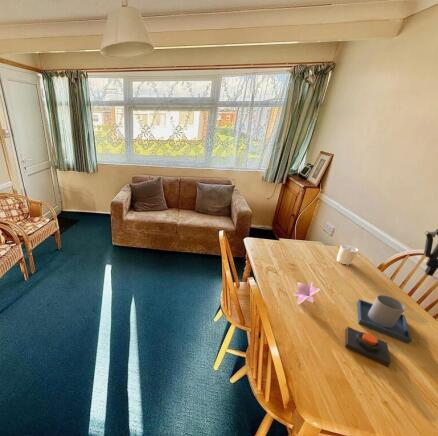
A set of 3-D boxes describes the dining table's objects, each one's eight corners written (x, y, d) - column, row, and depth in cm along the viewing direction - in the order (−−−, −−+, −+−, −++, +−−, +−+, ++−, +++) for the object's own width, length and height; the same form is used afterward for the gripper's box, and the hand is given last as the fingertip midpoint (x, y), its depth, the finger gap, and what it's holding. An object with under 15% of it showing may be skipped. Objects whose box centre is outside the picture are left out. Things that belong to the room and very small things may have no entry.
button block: (384, 346, 88) (389, 339, 87) (387, 367, 81) (393, 359, 79) (345, 330, 95) (348, 323, 93) (345, 347, 88) (349, 340, 86)
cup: (364, 316, 100) (373, 299, 96) (372, 309, 104) (381, 292, 100) (389, 331, 94) (400, 313, 89) (397, 322, 97) (408, 305, 93)
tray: (402, 319, 100) (404, 315, 99) (408, 344, 89) (411, 339, 88) (357, 302, 109) (358, 299, 108) (358, 323, 98) (360, 319, 97)
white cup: (343, 258, 142) (349, 244, 138) (355, 265, 135) (361, 251, 131) (331, 258, 142) (337, 244, 137) (342, 266, 134) (348, 252, 130)
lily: (296, 289, 118) (291, 277, 115) (324, 292, 110) (320, 278, 106) (294, 309, 111) (289, 296, 107) (324, 313, 103) (319, 300, 99)
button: (375, 340, 87) (377, 336, 86) (376, 347, 84) (378, 344, 83) (361, 334, 89) (363, 331, 88) (362, 341, 86) (363, 338, 86)
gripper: (488, 221, 79) (450, 275, 89) (432, 212, 87) (403, 263, 97) (498, 229, 74) (457, 285, 84) (438, 218, 81) (406, 271, 91)
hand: (428, 273), depth 90 cm, fingers closed
